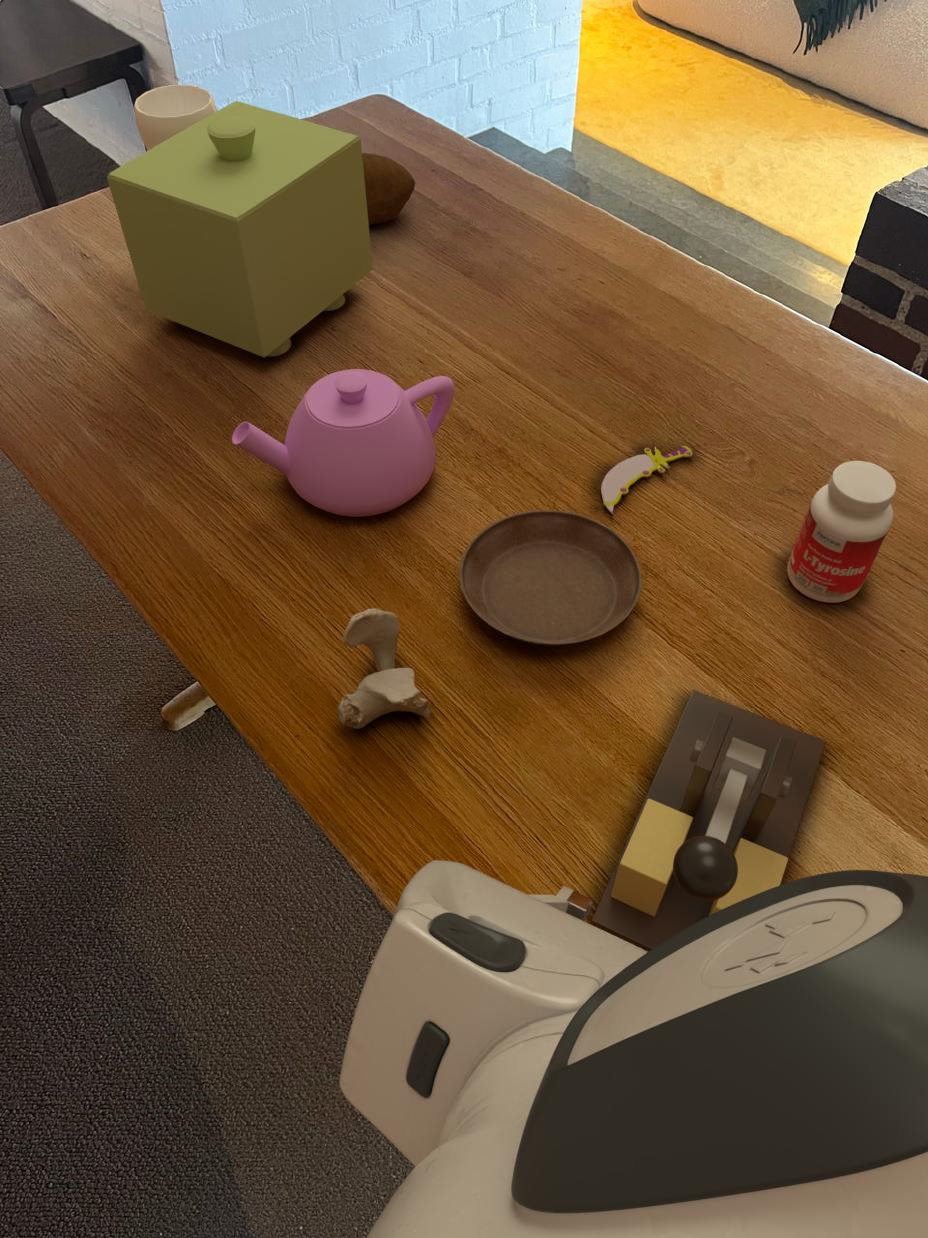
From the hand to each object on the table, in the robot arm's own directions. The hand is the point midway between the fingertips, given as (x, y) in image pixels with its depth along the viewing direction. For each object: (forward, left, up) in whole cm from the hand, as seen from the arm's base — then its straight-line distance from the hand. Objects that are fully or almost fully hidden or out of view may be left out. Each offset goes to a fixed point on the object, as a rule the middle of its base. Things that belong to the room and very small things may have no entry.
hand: (676, 956), depth 41 cm
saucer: (+19, -32, -20) cm, 43 cm away
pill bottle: (-1, -44, -20) cm, 49 cm away
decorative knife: (+17, -49, -20) cm, 56 cm away
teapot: (+41, -37, -20) cm, 59 cm away
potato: (+64, -78, -20) cm, 103 cm away
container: (+64, -56, -20) cm, 88 cm away
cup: (+79, -65, -20) cm, 105 cm away
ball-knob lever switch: (0, -11, -10) cm, 15 cm away
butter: (0, -12, -19) cm, 22 cm away
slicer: (0, -17, -20) cm, 27 cm away
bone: (+25, -16, -20) cm, 36 cm away
